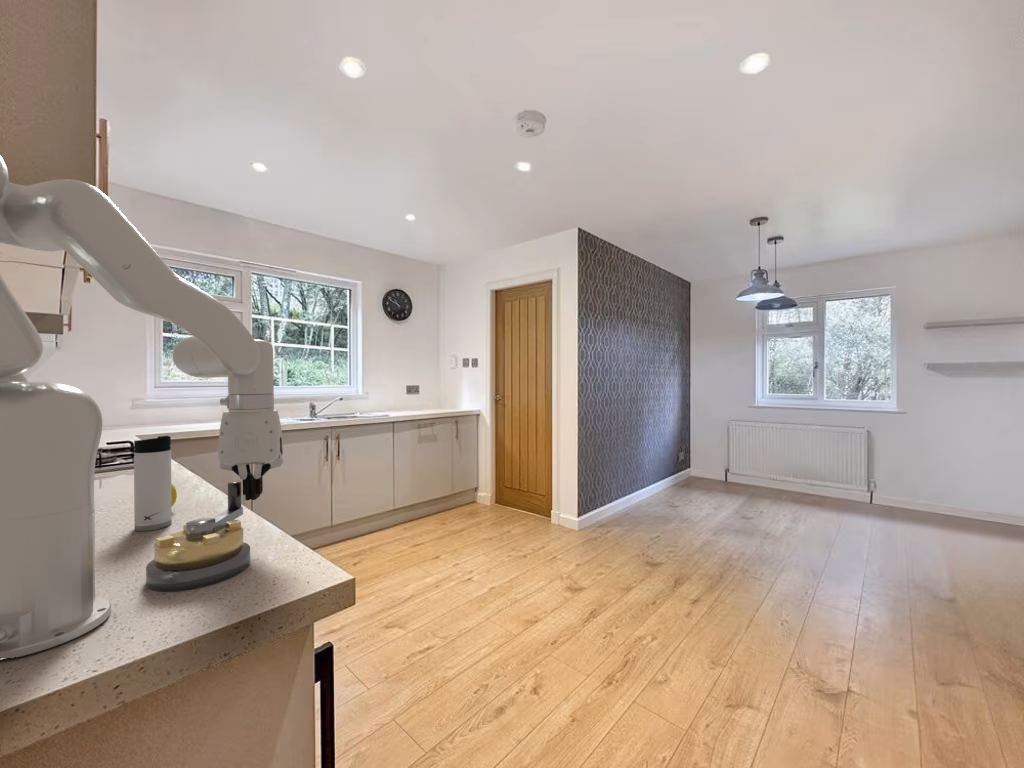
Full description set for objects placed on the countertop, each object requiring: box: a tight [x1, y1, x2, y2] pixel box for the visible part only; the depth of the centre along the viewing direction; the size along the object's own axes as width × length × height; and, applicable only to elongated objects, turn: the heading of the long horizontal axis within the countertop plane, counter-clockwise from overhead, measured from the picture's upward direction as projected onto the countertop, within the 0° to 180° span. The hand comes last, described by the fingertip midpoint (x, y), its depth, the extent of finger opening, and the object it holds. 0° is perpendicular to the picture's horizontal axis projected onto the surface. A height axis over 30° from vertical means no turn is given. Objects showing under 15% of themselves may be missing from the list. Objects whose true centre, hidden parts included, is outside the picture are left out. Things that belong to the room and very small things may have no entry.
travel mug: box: [133, 435, 173, 532], centre depth 94 cm, size 6×7×20 cm
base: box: [145, 541, 251, 593], centre depth 71 cm, size 14×14×2 cm
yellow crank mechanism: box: [153, 480, 244, 570], centre depth 74 cm, size 18×12×10 cm, turn 7°
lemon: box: [171, 483, 178, 507], centre depth 103 cm, size 6×6×8 cm
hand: (252, 498), depth 82 cm, fingers closed
